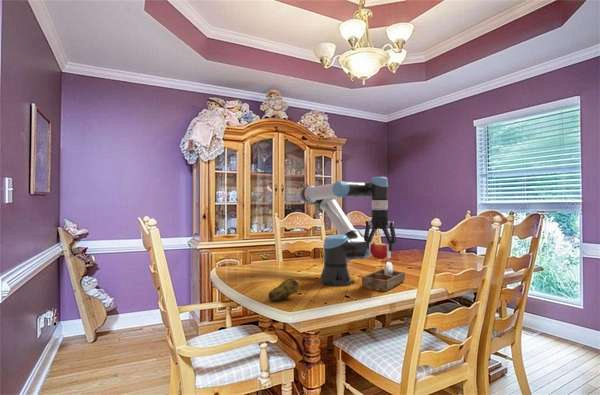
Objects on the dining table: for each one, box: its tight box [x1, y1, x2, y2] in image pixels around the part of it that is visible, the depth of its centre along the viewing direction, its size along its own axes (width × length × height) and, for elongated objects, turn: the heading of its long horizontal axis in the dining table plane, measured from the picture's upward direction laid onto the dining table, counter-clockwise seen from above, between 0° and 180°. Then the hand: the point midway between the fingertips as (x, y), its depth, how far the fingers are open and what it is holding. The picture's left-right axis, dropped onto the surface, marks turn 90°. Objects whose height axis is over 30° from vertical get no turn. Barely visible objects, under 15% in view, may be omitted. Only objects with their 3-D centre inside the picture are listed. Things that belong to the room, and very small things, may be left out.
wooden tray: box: [361, 268, 406, 292], centre depth 159 cm, size 12×23×5 cm, turn 143°
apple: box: [371, 237, 388, 260], centre depth 154 cm, size 8×8×10 cm
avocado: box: [268, 278, 299, 302], centre depth 133 cm, size 8×13×8 cm, turn 103°
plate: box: [384, 261, 394, 276], centre depth 163 cm, size 1×9×9 cm, turn 143°
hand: (379, 257), depth 154 cm, fingers closed on apple, 8 cm apart
